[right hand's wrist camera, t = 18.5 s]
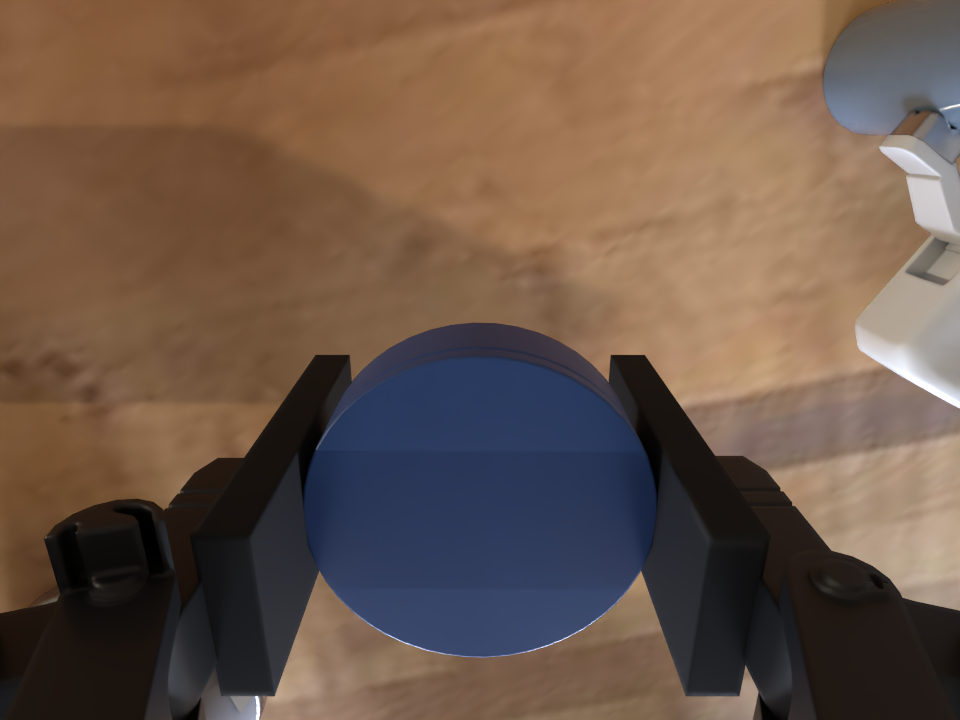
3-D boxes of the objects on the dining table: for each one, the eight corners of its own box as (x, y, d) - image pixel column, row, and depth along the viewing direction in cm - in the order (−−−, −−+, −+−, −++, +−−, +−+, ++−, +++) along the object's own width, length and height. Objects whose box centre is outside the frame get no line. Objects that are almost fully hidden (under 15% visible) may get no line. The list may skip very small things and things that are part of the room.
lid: (365, 608, 13) (350, 677, 12) (289, 350, 11) (256, 389, 10) (645, 570, 13) (669, 635, 11) (619, 296, 11) (644, 327, 9)
